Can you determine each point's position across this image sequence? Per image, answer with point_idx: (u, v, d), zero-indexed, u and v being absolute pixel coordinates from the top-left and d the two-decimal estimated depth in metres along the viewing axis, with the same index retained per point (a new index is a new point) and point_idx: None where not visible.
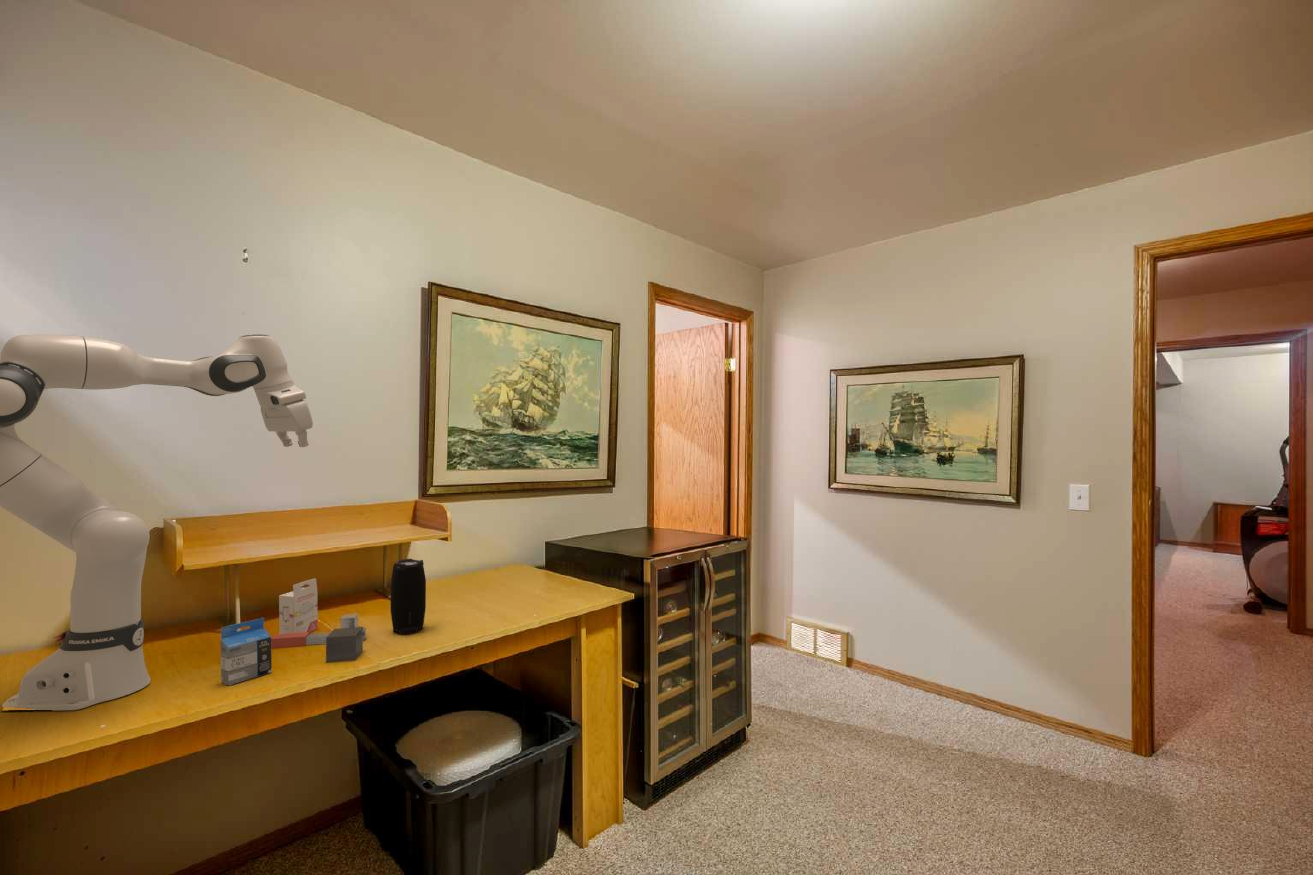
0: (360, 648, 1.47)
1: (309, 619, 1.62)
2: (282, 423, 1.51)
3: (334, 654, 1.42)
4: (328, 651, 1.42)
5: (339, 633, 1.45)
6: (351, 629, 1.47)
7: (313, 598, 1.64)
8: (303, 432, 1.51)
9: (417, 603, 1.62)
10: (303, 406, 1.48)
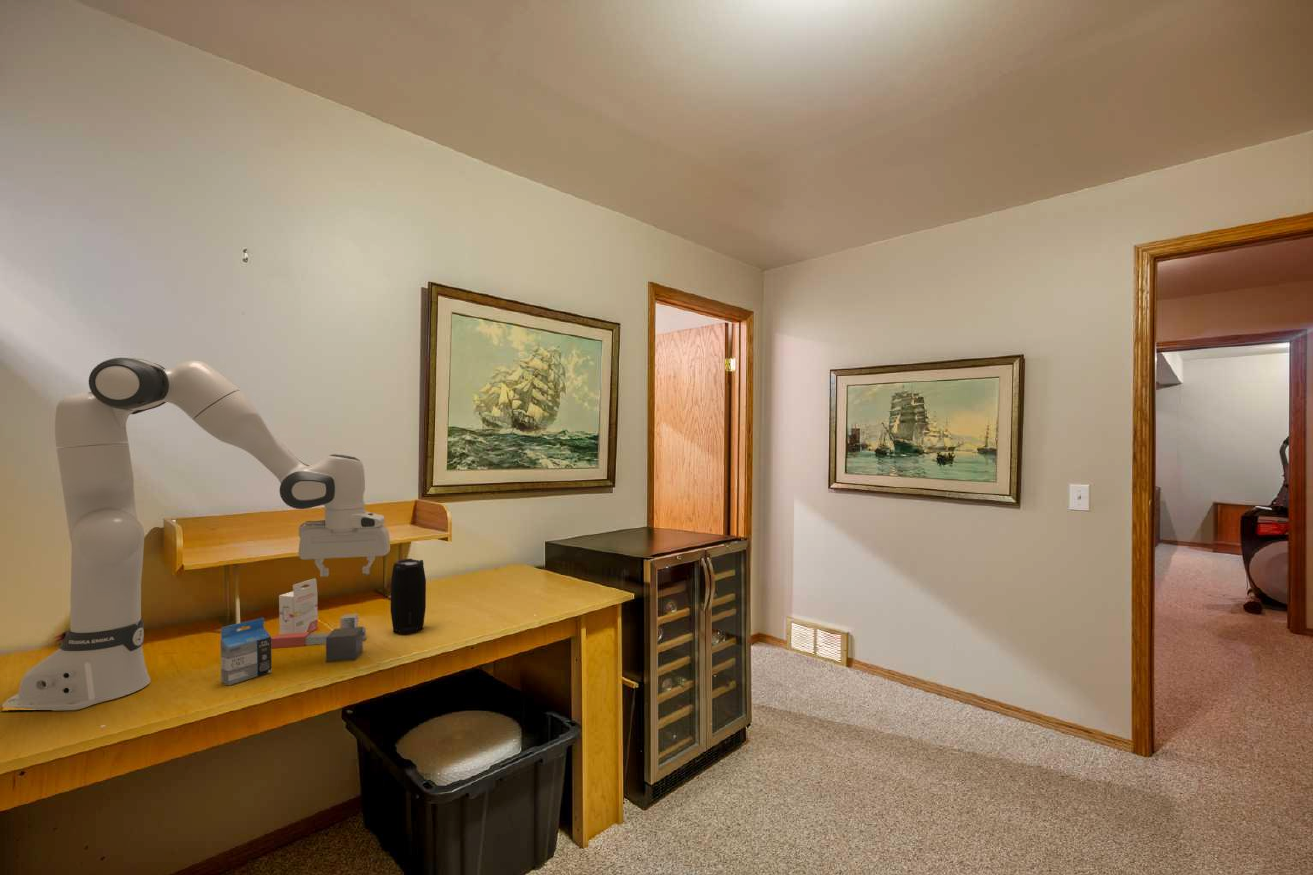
0: (360, 648, 1.47)
1: (309, 619, 1.62)
2: (349, 548, 1.44)
3: (334, 654, 1.42)
4: (328, 651, 1.42)
5: (339, 633, 1.45)
6: (351, 629, 1.47)
7: (313, 598, 1.64)
8: (374, 557, 1.47)
9: (417, 603, 1.62)
10: (387, 530, 1.49)
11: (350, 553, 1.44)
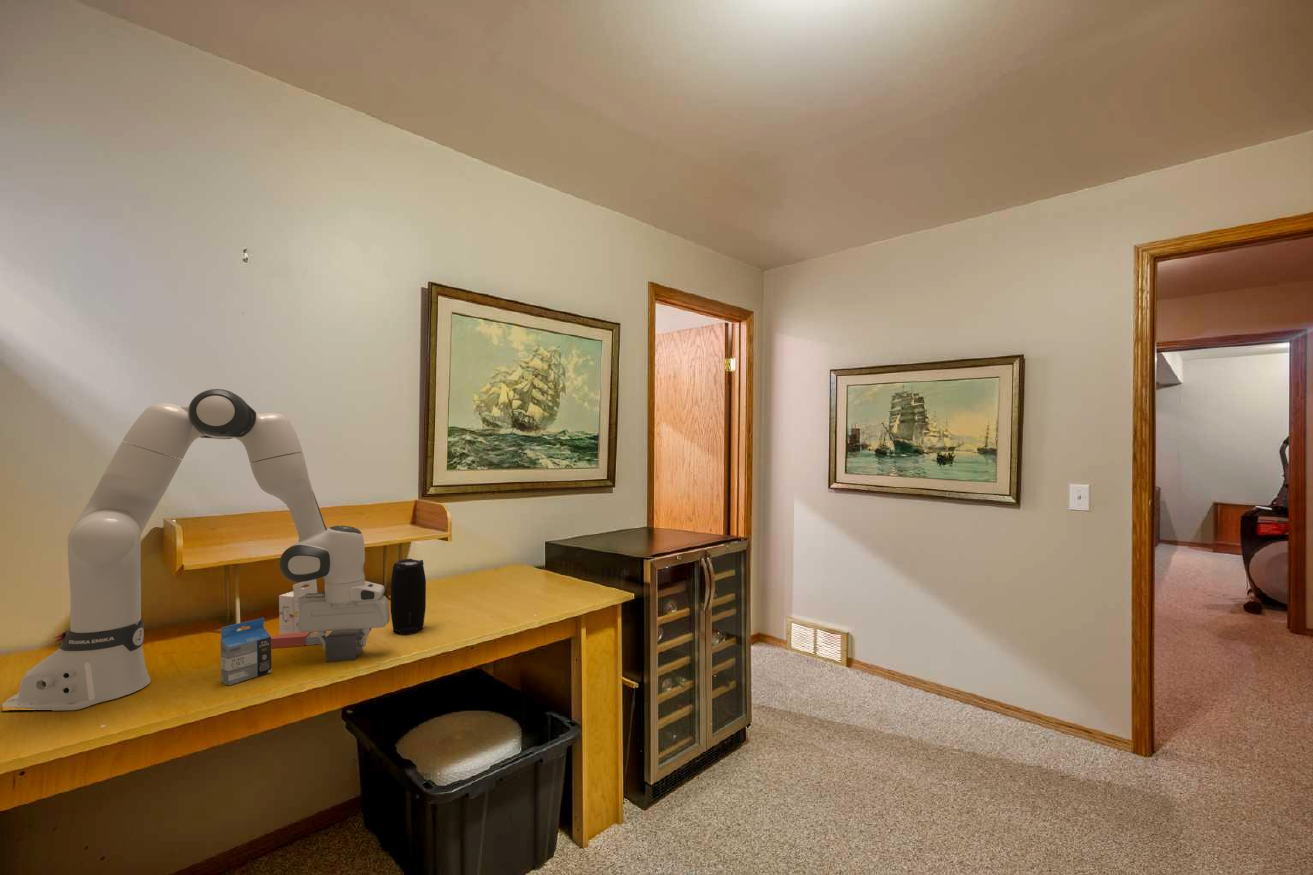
0: (360, 648, 1.47)
1: None
2: (348, 620, 1.44)
3: (334, 654, 1.42)
4: (328, 651, 1.42)
5: (339, 633, 1.45)
6: (351, 629, 1.47)
7: None
8: (370, 629, 1.47)
9: (417, 603, 1.62)
10: (386, 600, 1.49)
11: (349, 625, 1.44)
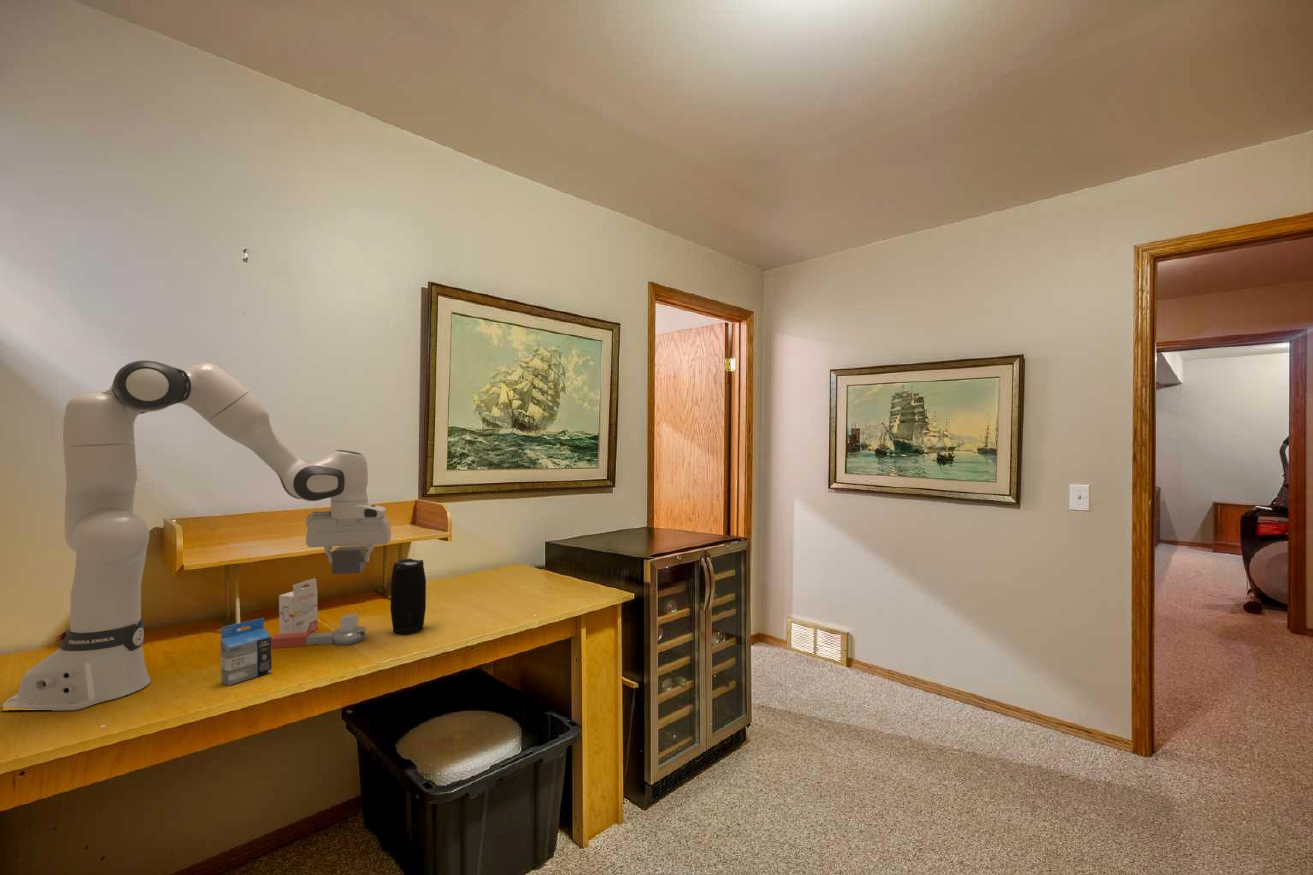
0: (363, 564, 1.58)
1: (309, 619, 1.62)
2: (352, 537, 1.55)
3: (339, 567, 1.53)
4: (334, 564, 1.53)
5: (344, 549, 1.56)
6: (355, 547, 1.59)
7: (313, 598, 1.64)
8: (373, 546, 1.58)
9: (417, 603, 1.62)
10: (388, 521, 1.60)
11: (354, 542, 1.55)
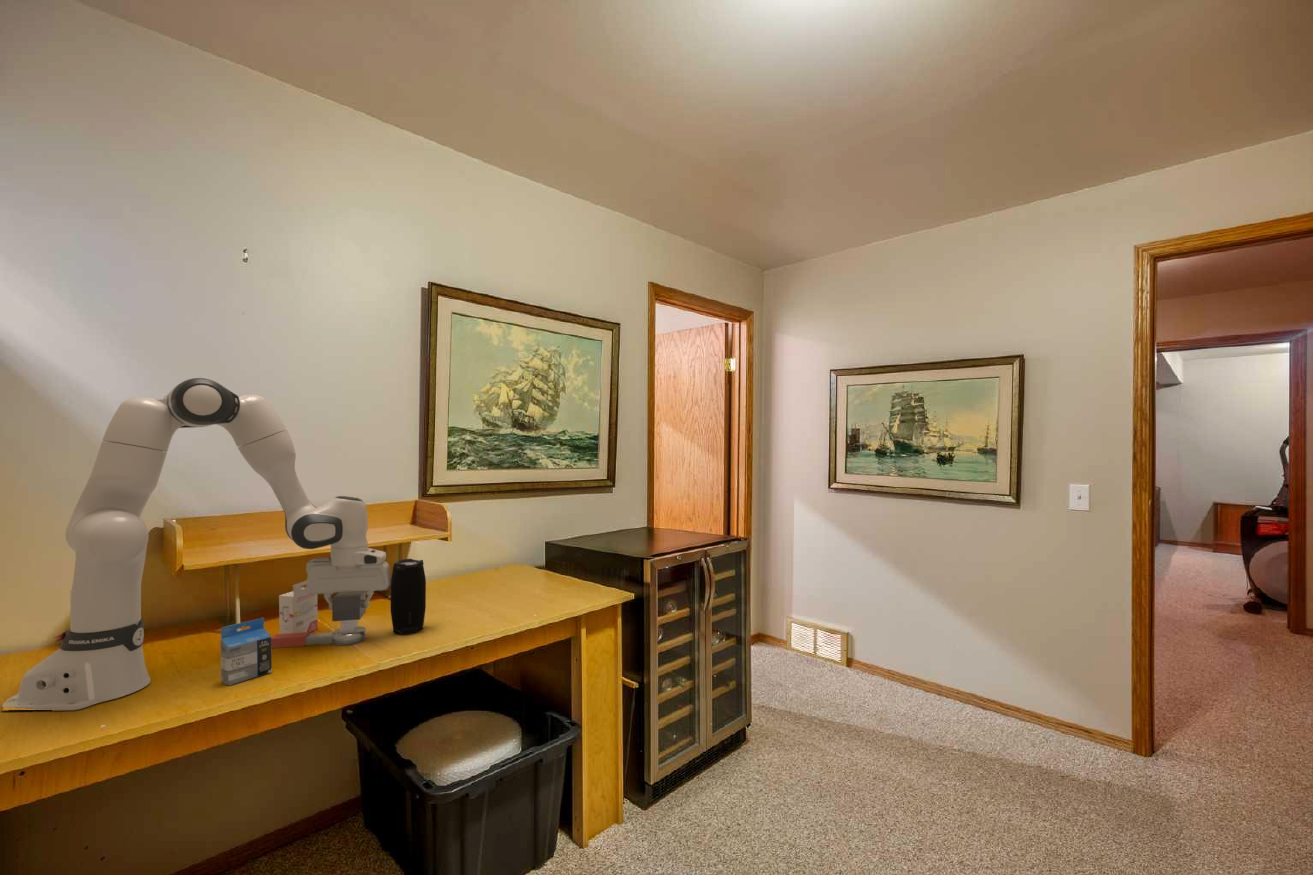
0: (363, 609, 1.59)
1: (309, 619, 1.62)
2: (352, 583, 1.55)
3: (339, 614, 1.53)
4: (334, 611, 1.53)
5: (344, 595, 1.56)
6: (355, 592, 1.59)
7: (313, 598, 1.64)
8: (373, 591, 1.58)
9: (417, 603, 1.62)
10: (388, 566, 1.60)
11: (354, 588, 1.55)
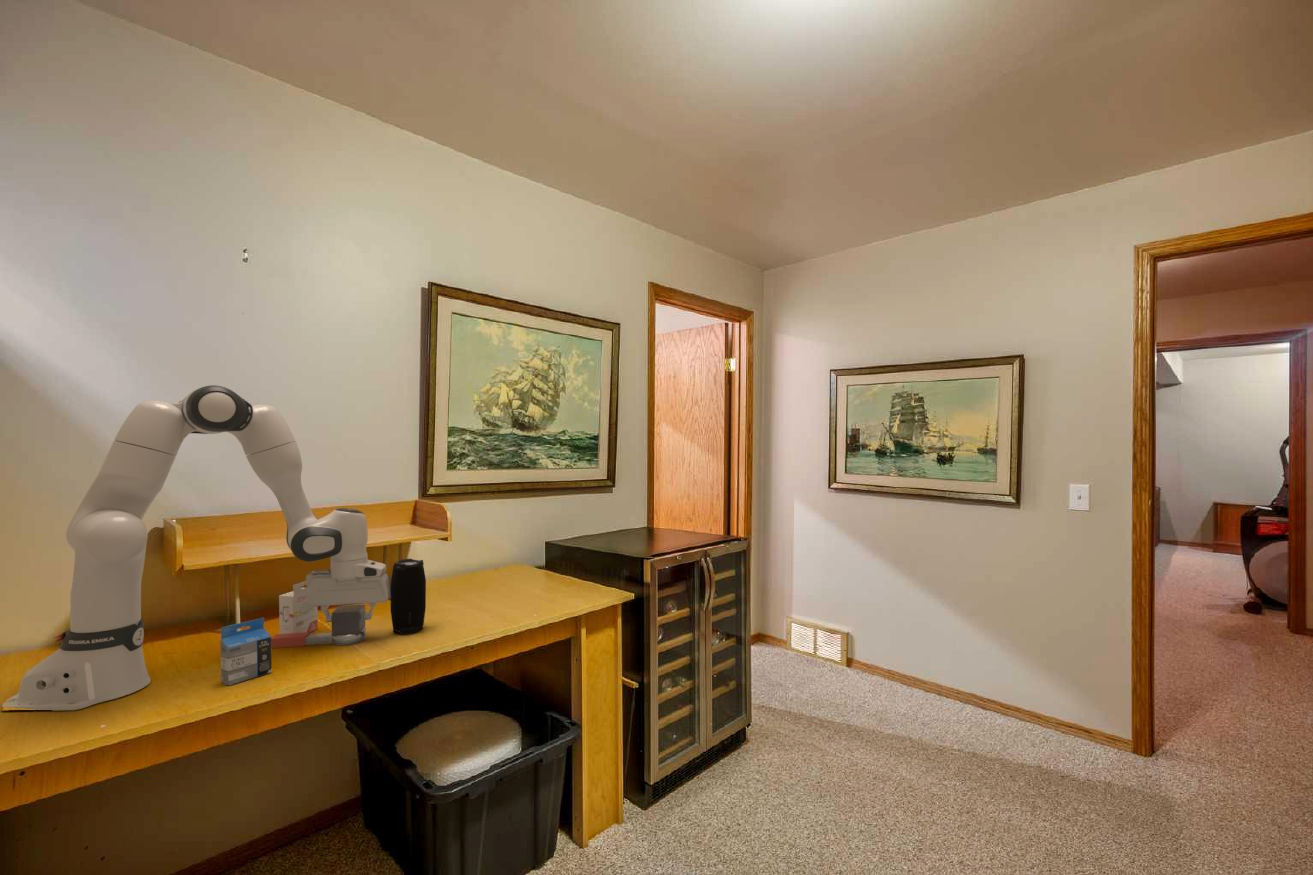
0: (363, 624, 1.59)
1: (309, 619, 1.62)
2: (352, 595, 1.55)
3: (339, 628, 1.53)
4: (334, 626, 1.53)
5: (343, 609, 1.56)
6: (355, 606, 1.59)
7: None
8: (375, 603, 1.58)
9: (417, 603, 1.62)
10: (388, 578, 1.60)
11: (353, 600, 1.55)
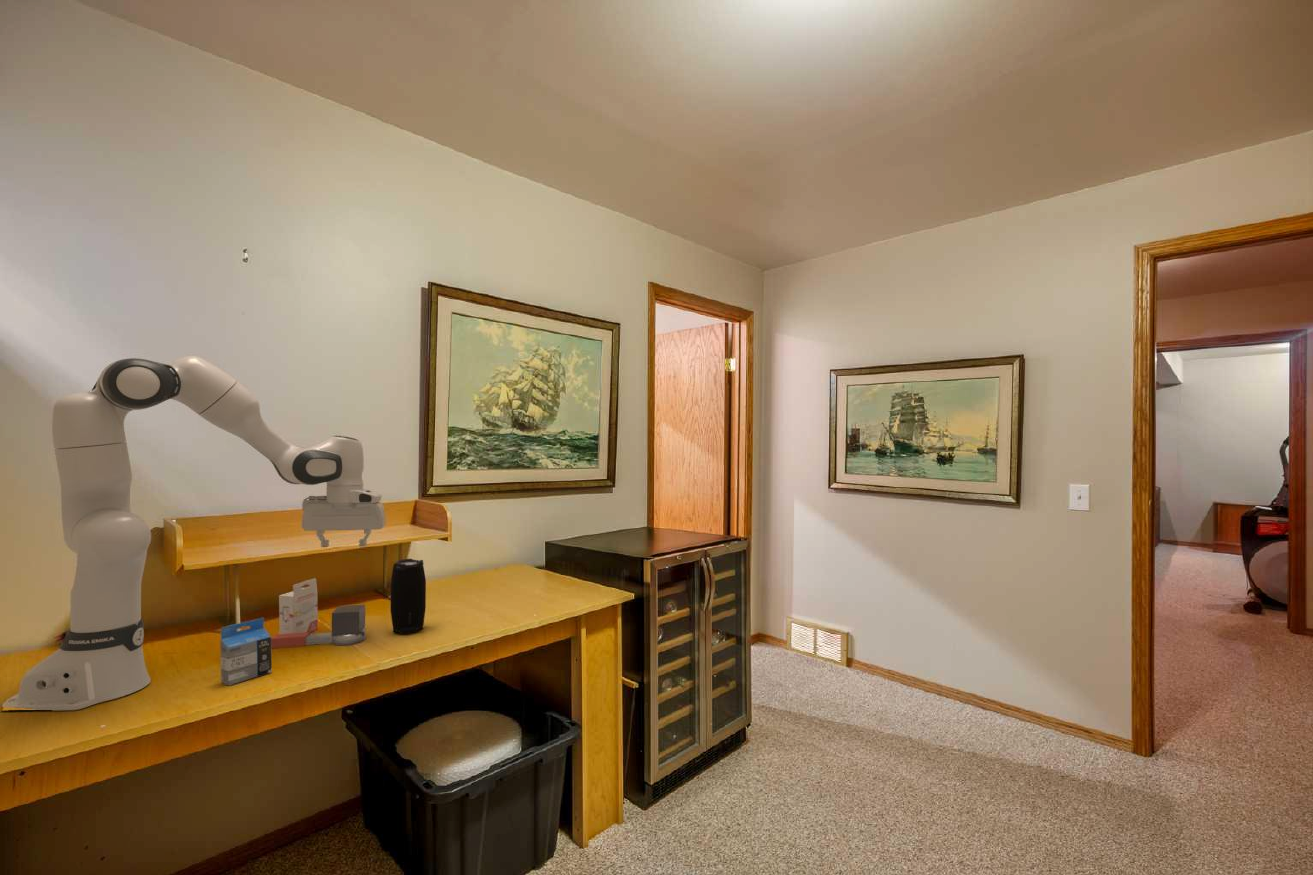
0: (363, 624, 1.59)
1: (309, 619, 1.62)
2: (347, 521, 1.57)
3: (339, 628, 1.53)
4: (334, 626, 1.53)
5: (343, 609, 1.56)
6: (355, 606, 1.59)
7: (313, 598, 1.64)
8: (370, 531, 1.61)
9: (417, 603, 1.62)
10: (383, 506, 1.62)
11: (348, 526, 1.58)
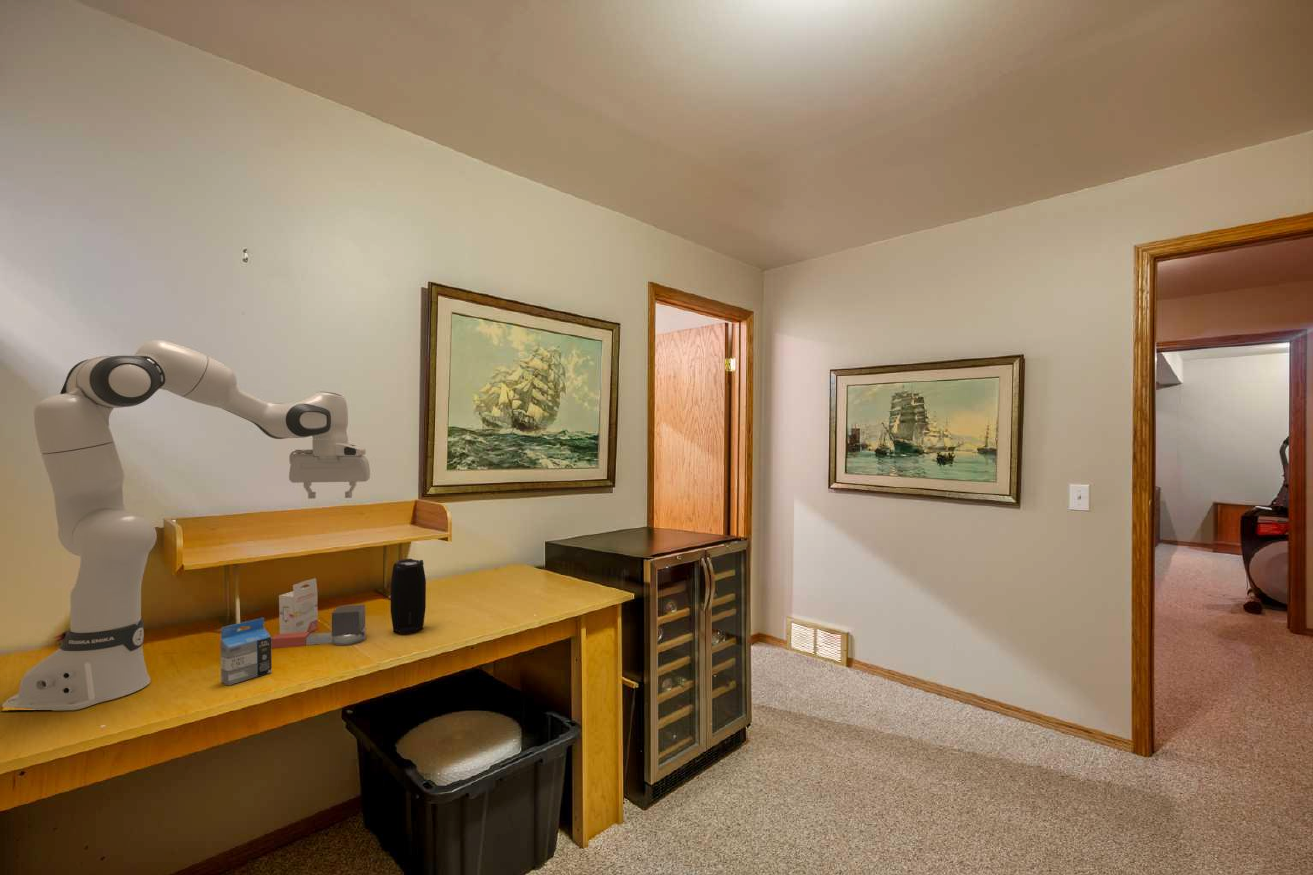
0: (363, 624, 1.59)
1: (309, 619, 1.62)
2: (333, 474, 1.65)
3: (339, 628, 1.53)
4: (334, 626, 1.53)
5: (343, 609, 1.56)
6: (355, 606, 1.59)
7: (313, 598, 1.64)
8: (355, 483, 1.68)
9: (417, 603, 1.62)
10: (367, 460, 1.70)
11: (334, 478, 1.65)
